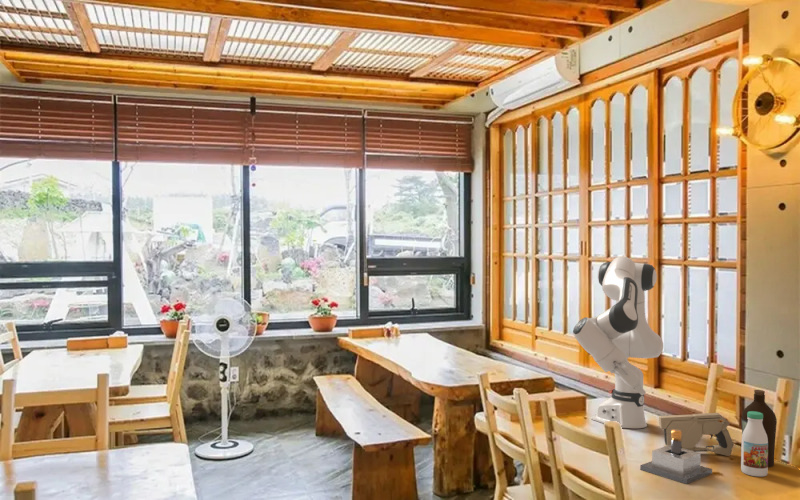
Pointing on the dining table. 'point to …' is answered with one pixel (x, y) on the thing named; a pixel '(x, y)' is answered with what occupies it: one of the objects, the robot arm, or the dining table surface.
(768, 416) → the olive oil
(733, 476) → the dining table surface
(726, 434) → the gun
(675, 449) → the battery
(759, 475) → the milk bottle
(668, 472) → the block
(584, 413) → the dining table surface
